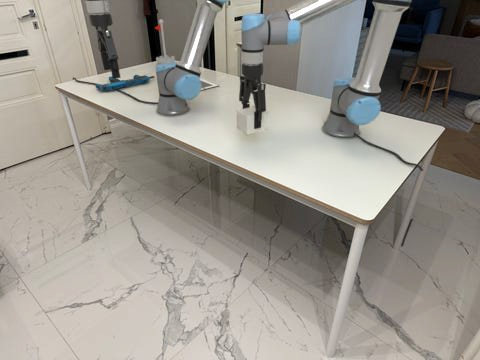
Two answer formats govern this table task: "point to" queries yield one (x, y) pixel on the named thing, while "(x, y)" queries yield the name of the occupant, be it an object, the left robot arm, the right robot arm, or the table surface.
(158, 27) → the flag stand
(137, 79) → the submachine gun
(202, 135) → the table surface
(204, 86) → the tablet
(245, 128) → the block
